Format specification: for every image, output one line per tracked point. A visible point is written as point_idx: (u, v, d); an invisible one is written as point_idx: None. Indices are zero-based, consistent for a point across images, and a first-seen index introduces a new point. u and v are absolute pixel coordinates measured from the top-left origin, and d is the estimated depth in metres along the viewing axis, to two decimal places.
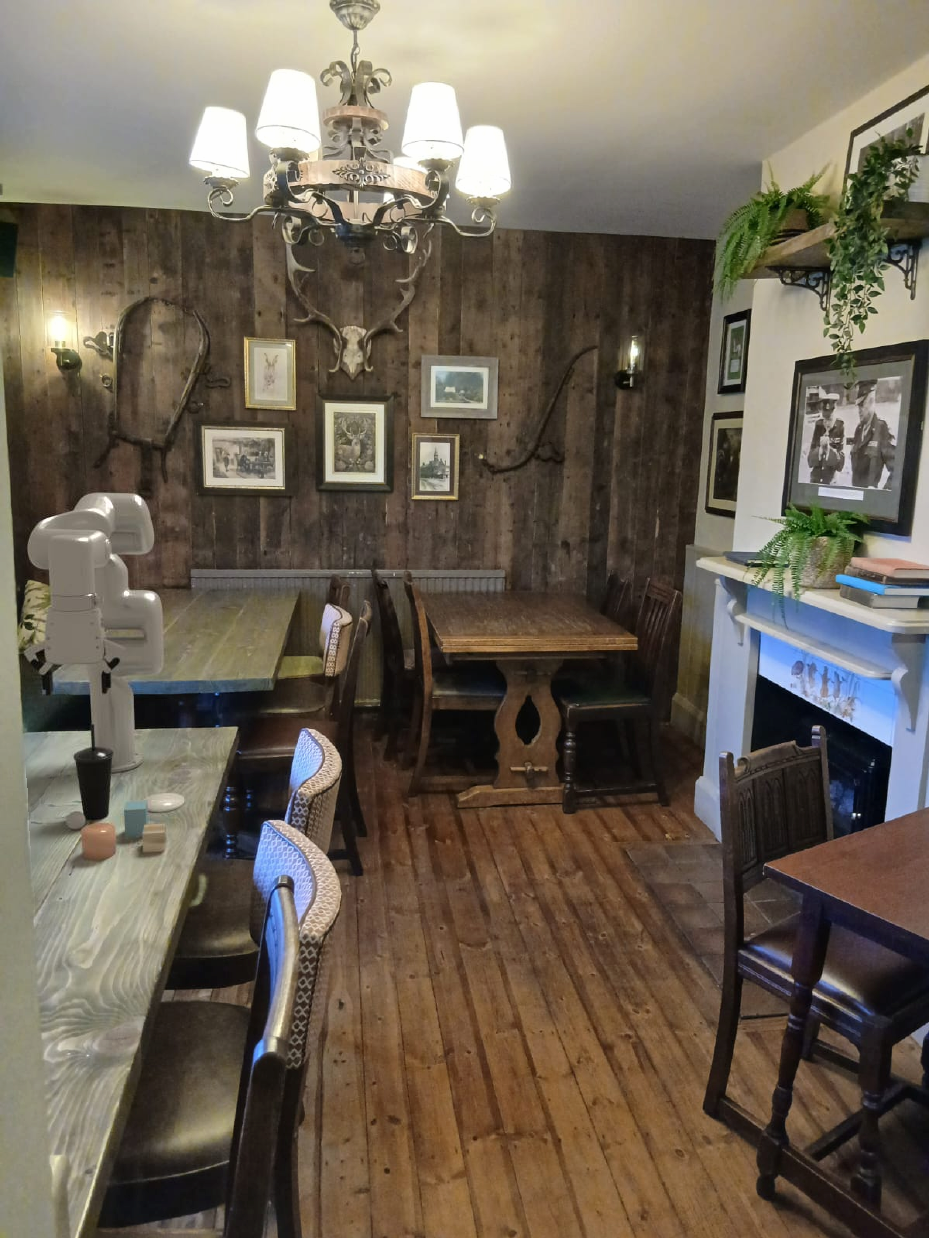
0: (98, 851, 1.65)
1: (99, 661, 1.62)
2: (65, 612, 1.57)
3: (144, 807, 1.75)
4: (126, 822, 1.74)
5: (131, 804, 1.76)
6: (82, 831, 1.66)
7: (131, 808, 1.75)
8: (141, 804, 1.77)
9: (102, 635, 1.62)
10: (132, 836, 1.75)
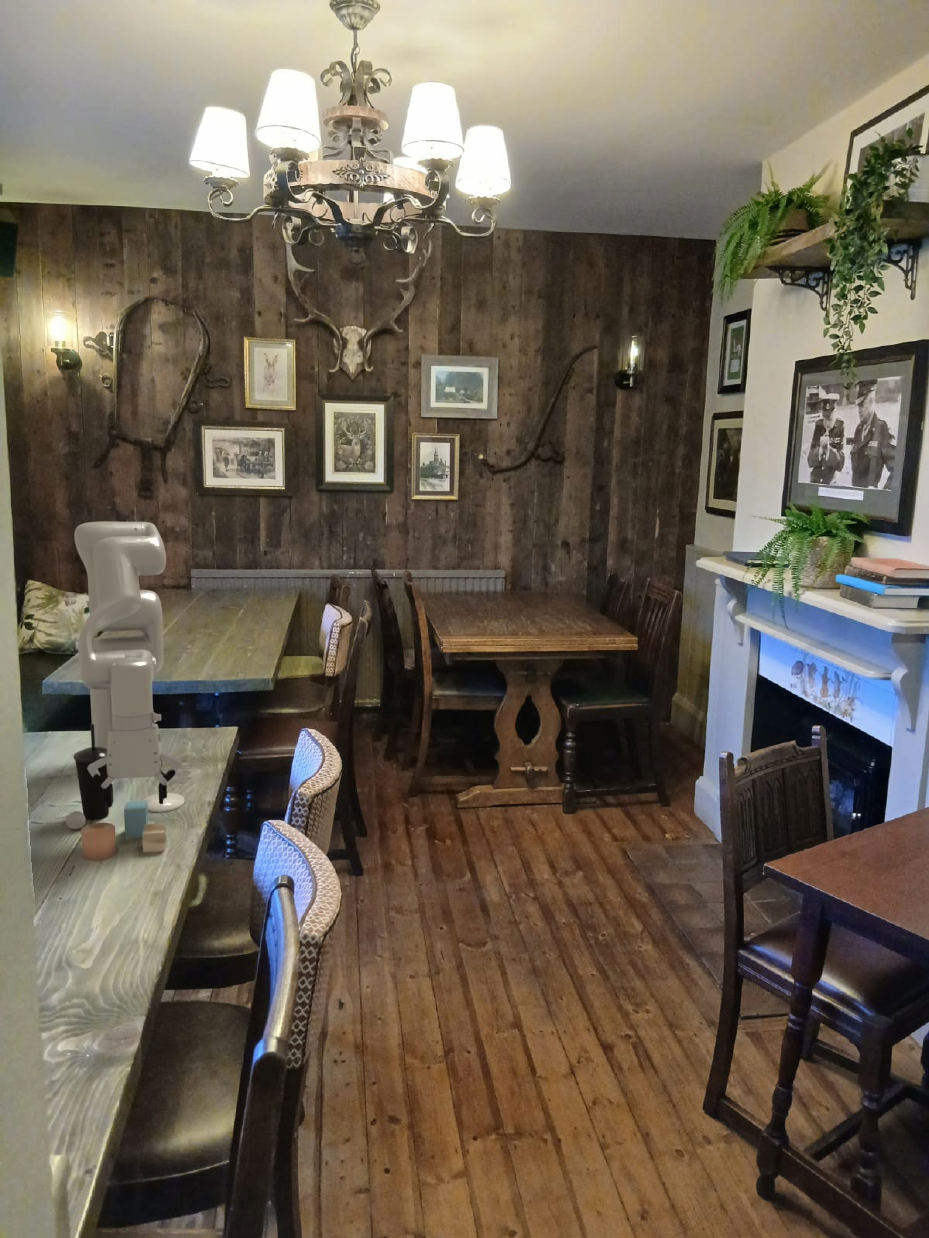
0: (98, 851, 1.65)
1: (157, 774, 1.74)
2: (126, 731, 1.69)
3: (144, 807, 1.75)
4: (126, 822, 1.74)
5: (131, 804, 1.76)
6: (82, 831, 1.66)
7: (131, 808, 1.75)
8: (141, 804, 1.77)
9: (159, 750, 1.74)
10: (132, 836, 1.75)
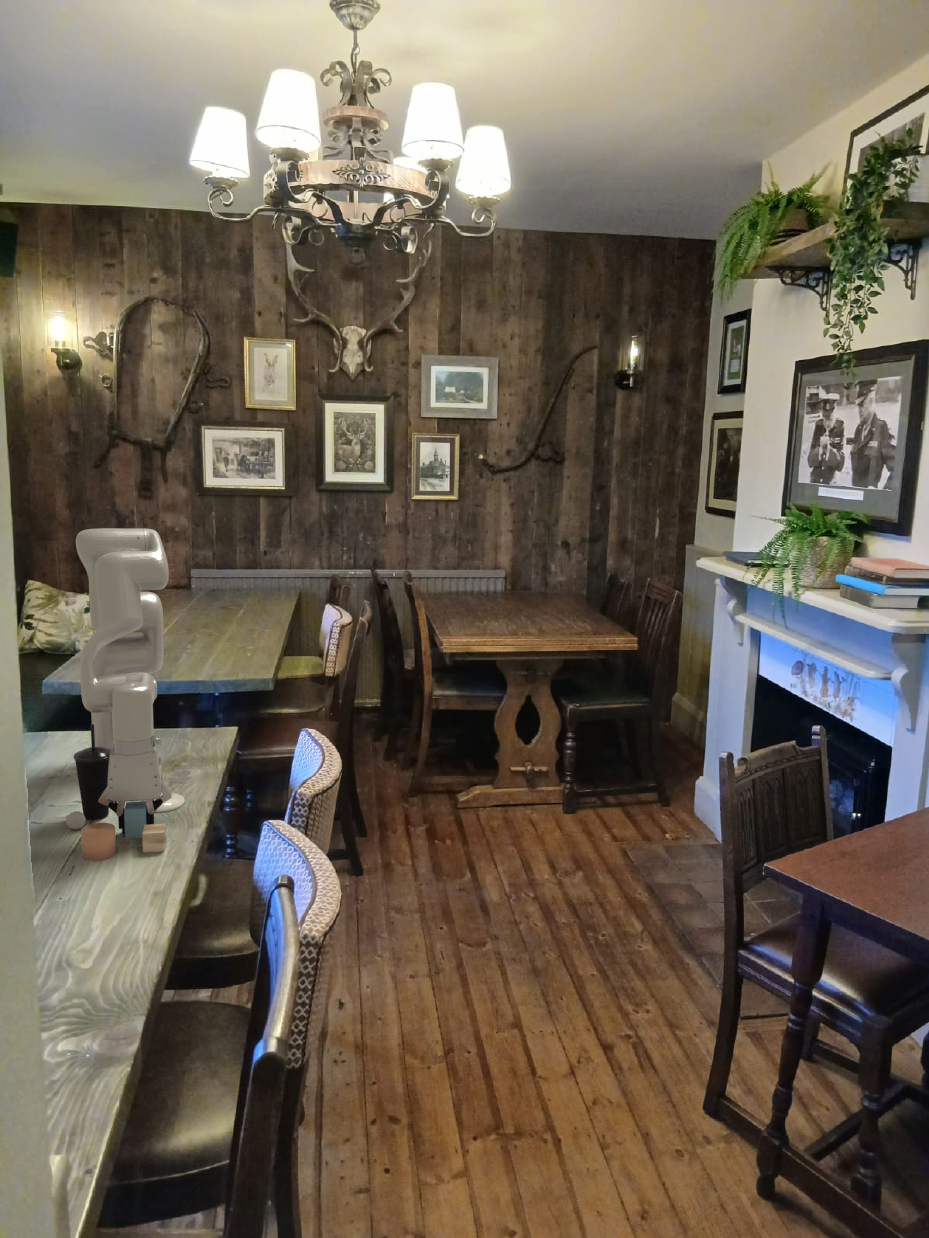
0: (98, 851, 1.65)
1: (157, 797, 1.75)
2: (127, 756, 1.70)
3: (144, 807, 1.75)
4: (126, 822, 1.74)
5: (131, 804, 1.76)
6: (82, 831, 1.66)
7: (131, 808, 1.74)
8: (141, 804, 1.76)
9: (160, 773, 1.75)
10: (132, 836, 1.75)
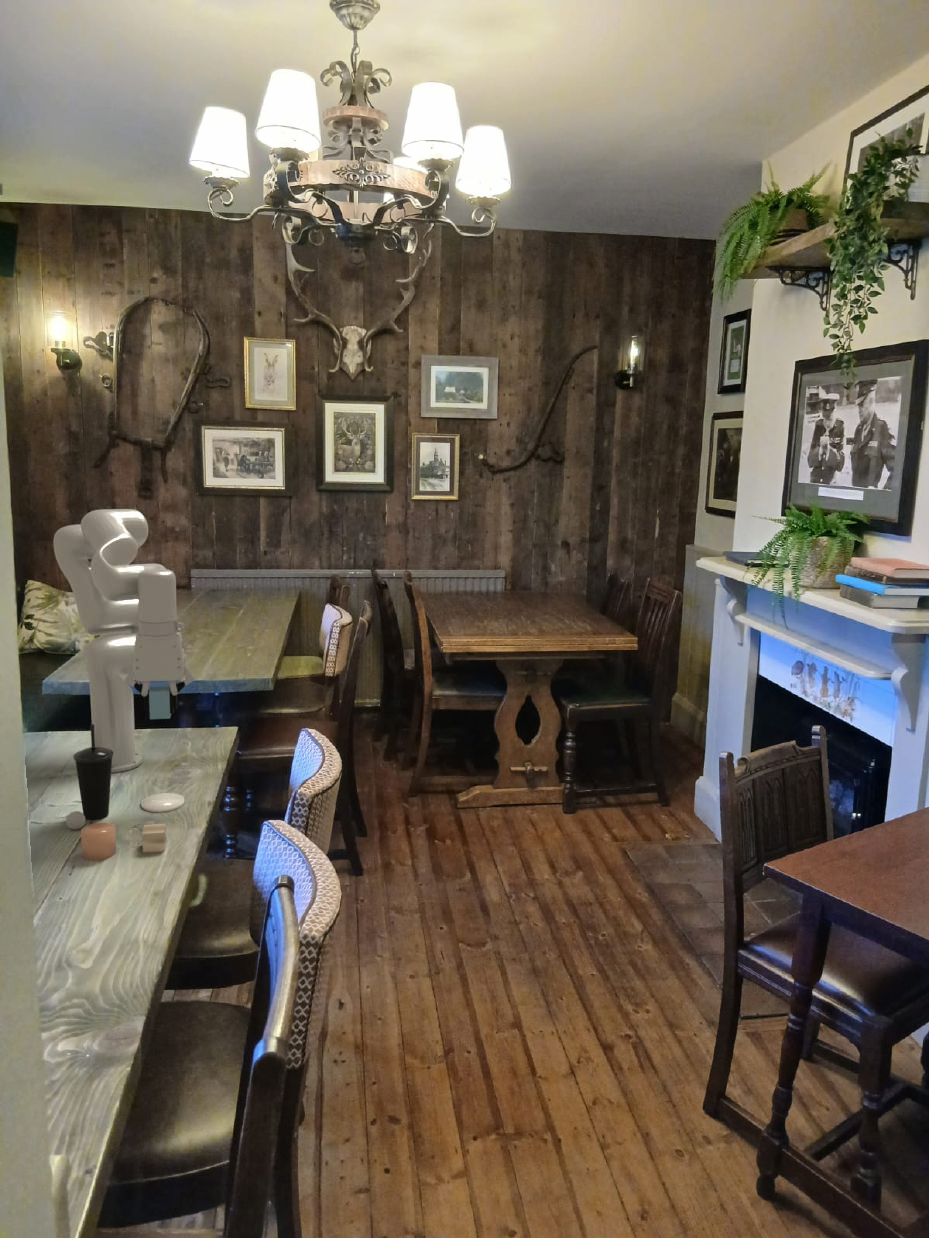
0: (98, 851, 1.65)
1: (180, 679, 1.85)
2: (152, 637, 1.80)
3: (168, 690, 1.85)
4: (151, 704, 1.84)
5: (155, 688, 1.86)
6: (82, 831, 1.66)
7: (155, 690, 1.84)
8: (165, 688, 1.86)
9: (183, 656, 1.85)
10: (156, 717, 1.85)
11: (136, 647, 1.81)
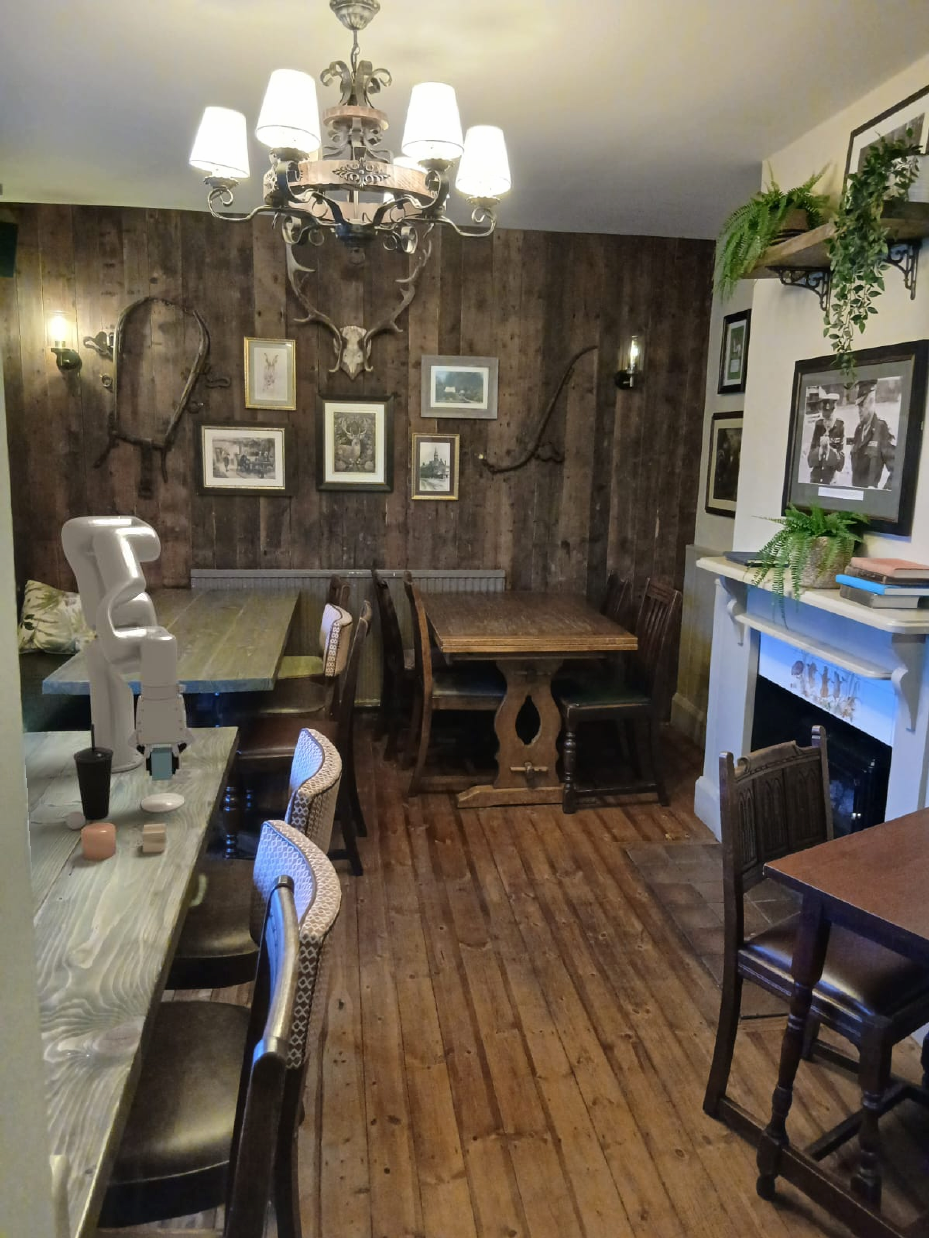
0: (98, 851, 1.65)
1: (182, 741, 1.88)
2: (154, 700, 1.83)
3: (170, 752, 1.88)
4: (153, 765, 1.87)
5: (157, 749, 1.89)
6: (82, 831, 1.66)
7: (158, 752, 1.87)
8: (167, 749, 1.89)
9: (184, 718, 1.88)
10: (159, 779, 1.87)
11: (138, 710, 1.84)
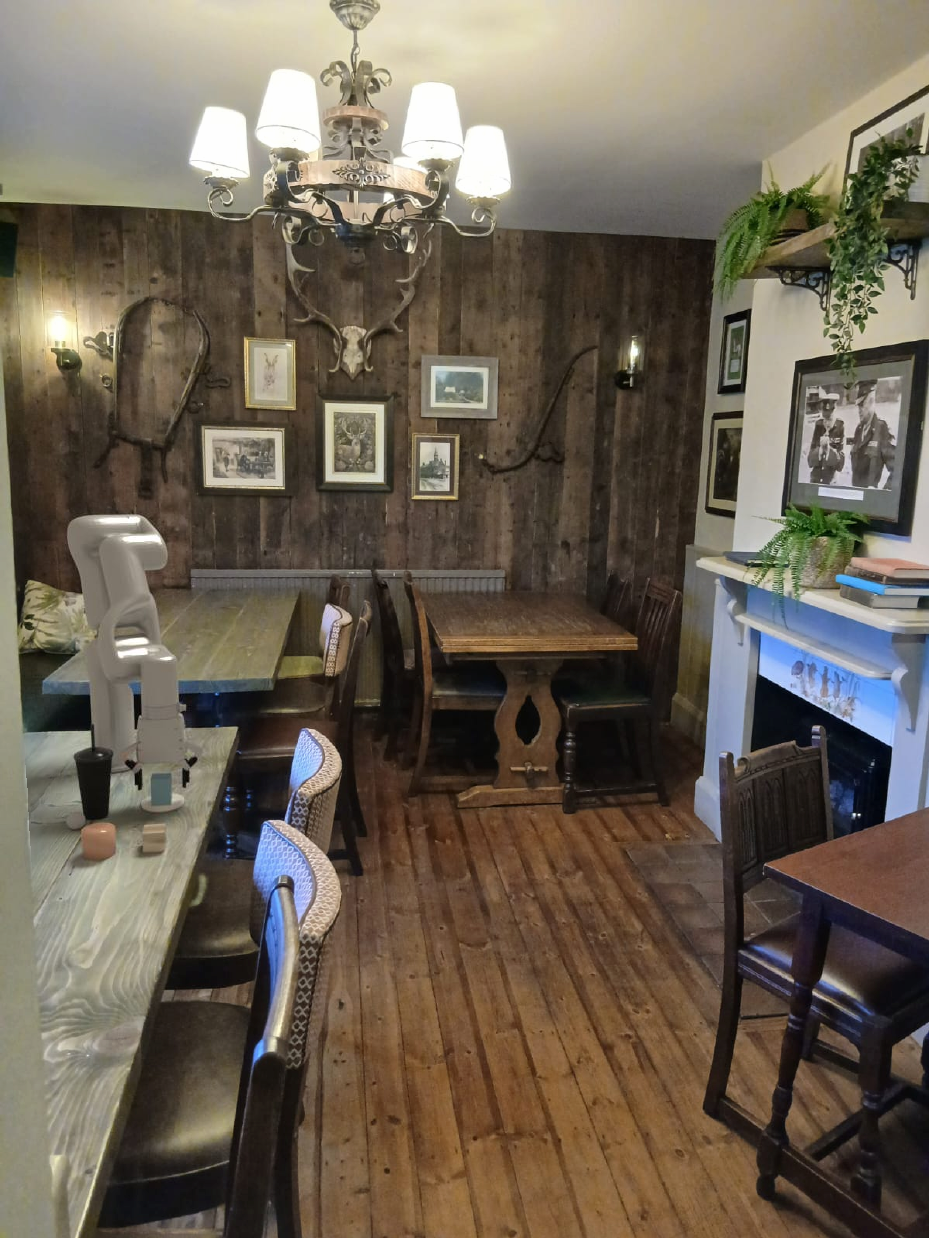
0: (98, 851, 1.65)
1: (182, 760, 1.89)
2: (155, 720, 1.84)
3: (169, 777, 1.89)
4: (152, 791, 1.88)
5: (156, 775, 1.90)
6: (82, 831, 1.66)
7: (157, 778, 1.88)
8: (166, 775, 1.90)
9: (184, 737, 1.89)
10: (158, 804, 1.89)
11: (139, 730, 1.85)
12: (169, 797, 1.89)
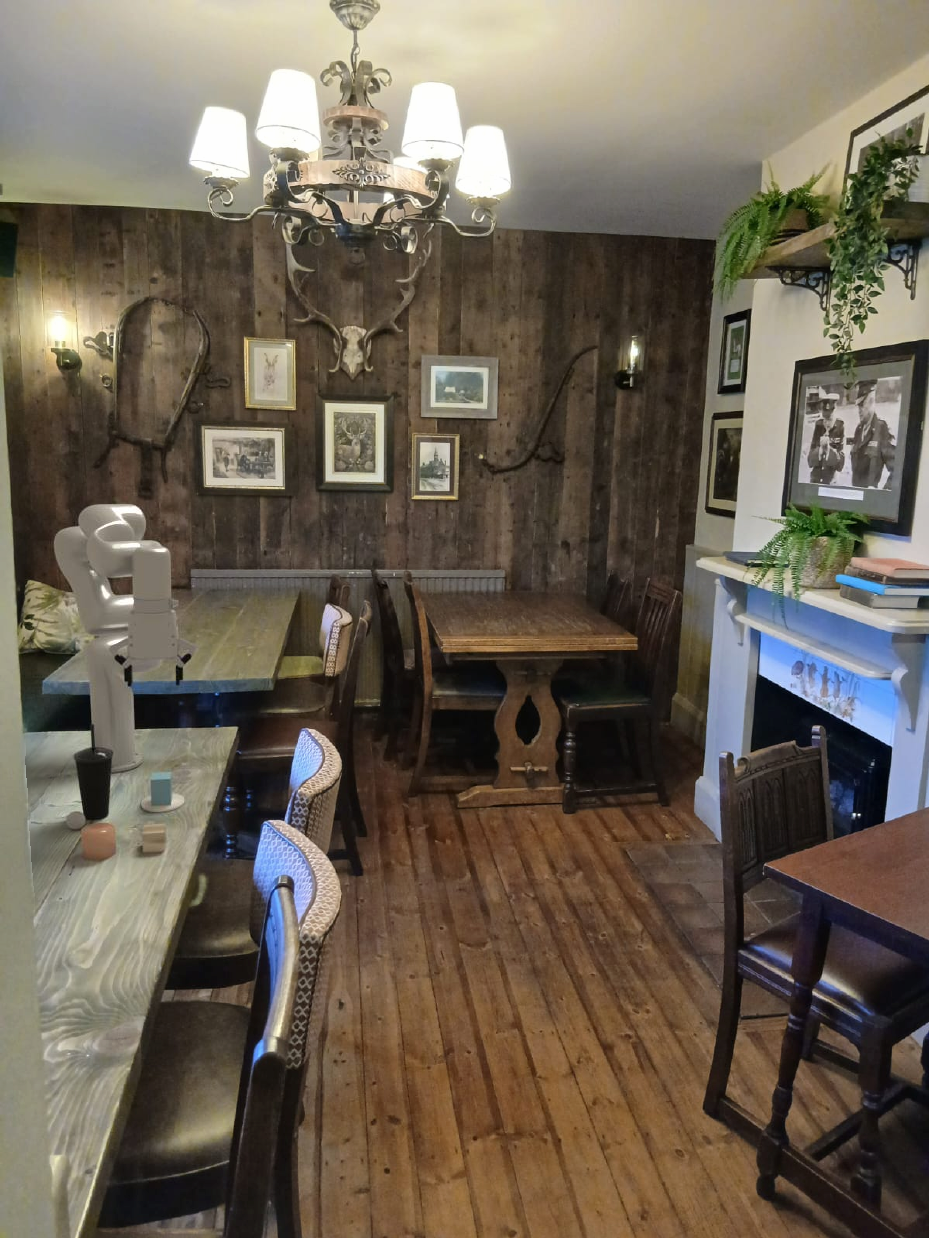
0: (98, 851, 1.65)
1: (174, 657, 1.85)
2: (147, 614, 1.80)
3: (169, 777, 1.89)
4: (152, 791, 1.88)
5: (156, 775, 1.90)
6: (82, 831, 1.66)
7: (157, 778, 1.88)
8: (166, 775, 1.90)
9: (177, 634, 1.85)
10: (158, 804, 1.89)
11: (130, 624, 1.81)
12: (169, 797, 1.89)
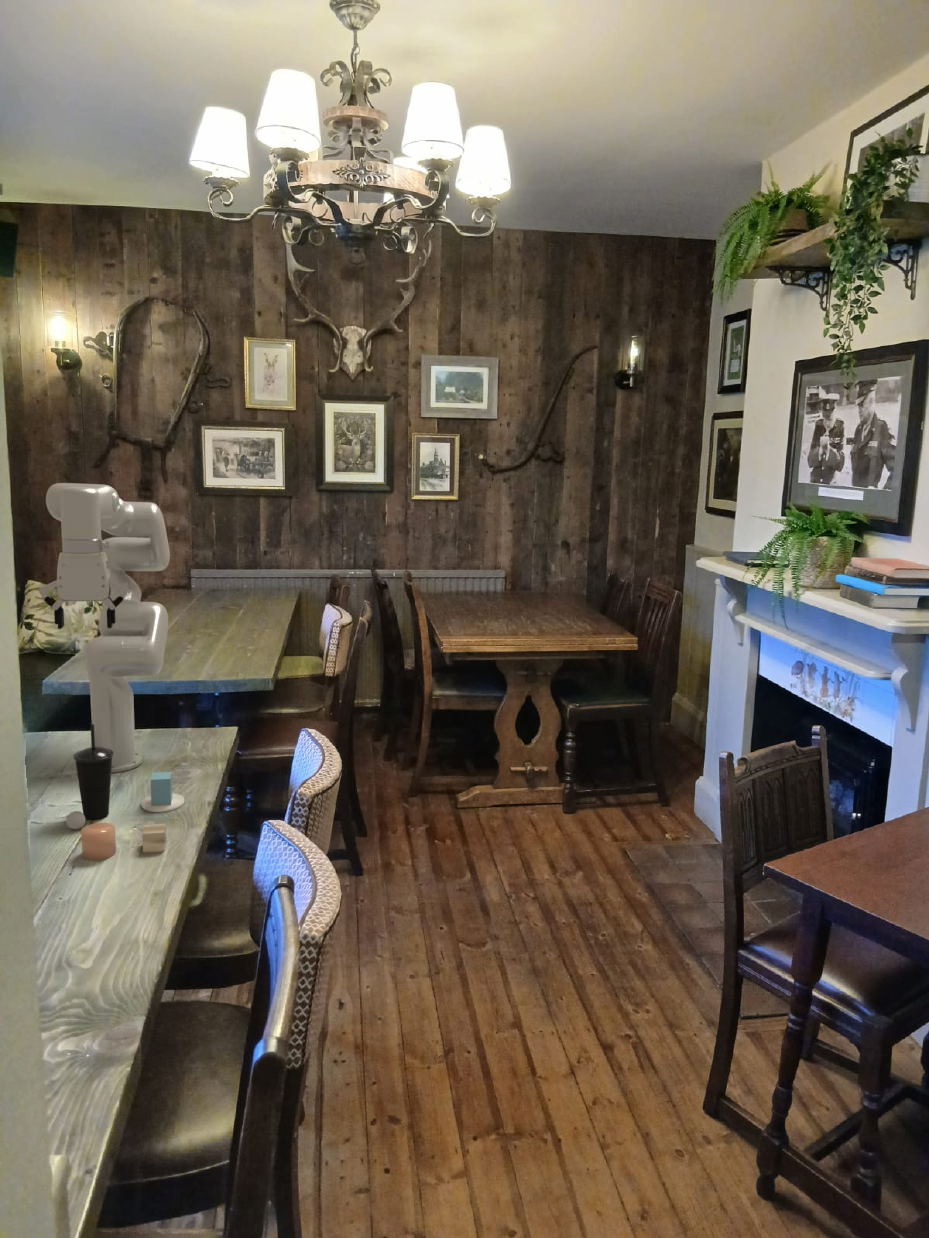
0: (98, 851, 1.65)
1: (105, 599, 1.84)
2: (75, 554, 1.79)
3: (169, 777, 1.89)
4: (152, 791, 1.88)
5: (156, 775, 1.90)
6: (82, 831, 1.66)
7: (157, 778, 1.88)
8: (166, 775, 1.90)
9: (107, 576, 1.84)
10: (158, 804, 1.89)
11: (59, 565, 1.80)
12: (169, 797, 1.89)
